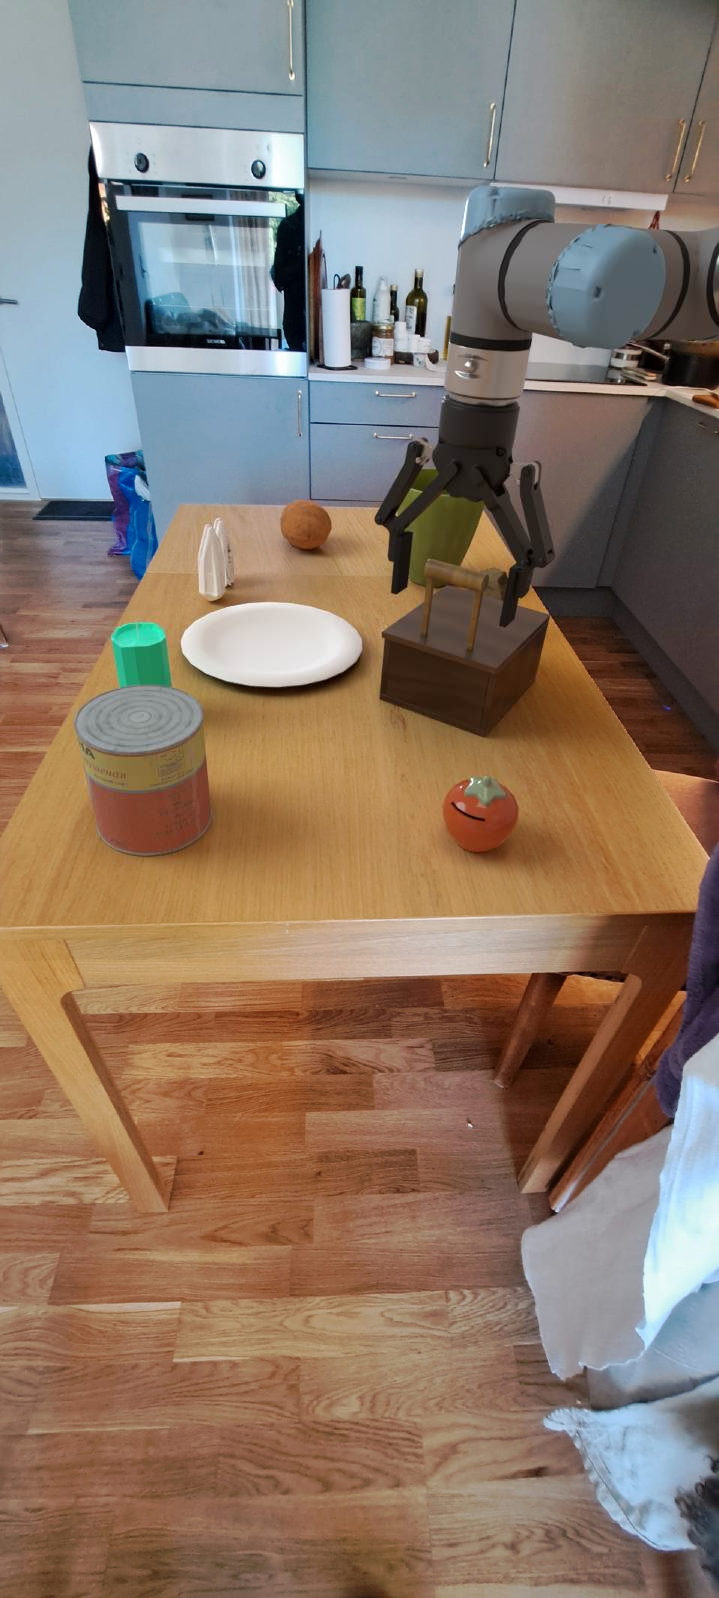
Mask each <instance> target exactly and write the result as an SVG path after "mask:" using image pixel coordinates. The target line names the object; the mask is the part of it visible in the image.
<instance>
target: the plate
mask: <svg viewBox="0 0 719 1598" xmlns="http://www.w3.org/2000/svg"><path fill="white" fill-rule="evenodd" d="M180 646H181V652H182V655H183V657H184V658H185V659H186V660H187V662H188V663H189V664H190V665H191V666H192V667H193V668H195V669H197V671H200V672H201V673H203V674H204V675H206V676H208V677H211V678H214V679H216V680H219V681H222V682H224V683H227V684H232V685H238V686H243V687H248V688H257V689H259V688H260V689H286V688H299V687H305V686H309V685H313V684H318V683H321V682H325V681H327V680H329V679H332V678H334V677H336V676H340V675H341V674H343V673H345V672H346V671H348V670H349V669H350V668H351V667H353V666H354V665H355V664H356V663H357V661H358V660H359V658H360V656H361V655H362V653H363V638H362V637H361V635H360V633H359V631H358V630H357V628H355V627H354V626H353V625H351V624H350V623H349V622H348V621H347V620H345V619H344V618H342V617H340V616H338V615H336V614H334V613H332V612H330V611H328V610H324V609H321V608H317V607H314V606H310V605H305V604H299V603H292V602H278V601H275V602H274V601H262V602H248V603H242V604H236V605H231V606H227V607H223V608H219V609H218V610H214V611H211V612H209V613H207V614H205V615H203V616H202V617H200V618H198V619H196V620H195V621H193V623H191V624H190V625H189V626H188V627H187V628H186V629H185V630H184V632H183V634H182V637H181V639H180Z"/></svg>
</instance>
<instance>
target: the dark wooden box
mask: <svg viewBox="0 0 719 1598" xmlns="http://www.w3.org/2000/svg"><path fill="white" fill-rule="evenodd" d="M549 622H550V620H549V621H548V622H547V623H546V624H545V625H544V626H543V627H542V628H541V629H540V630H539V631H538V632H537V633H536V634H535V635H534V636H533V637H532V638H531V639H530V640H529V641H528V642H527V643H526V644H525V645H524V646H523V647H522V648H521V649H520V650H519V651H518V652H517V653H516V654H515V655H514V656H513V657H512V658H511V659H510V660H509V661H508V662H507V663H506V664H505V665H504V666H503V667H502V668H501V669H500V670H499V671H498V672H497V673H496V674H492V673H488V672H485V671H482V670H479V669H476V668H473V667H470V666H467V665H464V664H461V663H458V662H455V661H452V660H449V659H446V658H443V657H440V656H437V655H433V654H430V653H427V652H424V651H421V650H418V649H415V648H412V647H409V646H406V645H403V644H400V643H397V642H394V641H391V640H388V639H385V638H383V639H384V640H383V652H382V662H381V663H382V664H381V675H380V687H379V700H382V701H384V702H385V703H389V704H392V705H394V706H397V707H400V708H403V709H406V710H408V711H412V712H414V713H415V714H416V713H417V714H419V715H422V716H425V717H428V718H430V719H433V720H436V721H438V722H441V723H444V724H446V725H450V726H452V727H455V728H458V729H460V730H463V731H466V732H469V733H471V734H474V735H477V736H479V737H483V738H486V737H487V736H488V735H489V733H491V731H492V730H493V729H494V728H495V727H496V726H497V725H498V724H499V722H500V721H501V720H502V719H503V718H504V717H505V715H506V714H508V712H509V711H510V710H511V709H512V708H513V707H514V705H515V704H516V703H517V702H518V701H520V699H521V697H522V696H523V695H524V694H525V693H526V692H527V691H528V690H529V689H530V688H531V687H532V685H533V684H534V683H535V682H536V679H537V675H538V674H537V673H538V669H539V666H540V661H541V656H542V652H543V648H544V643H545V639H546V635H547V632H548V627H549Z"/></svg>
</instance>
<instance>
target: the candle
mask: <svg viewBox="0 0 719 1598" xmlns="http://www.w3.org/2000/svg"><path fill="white" fill-rule="evenodd" d="M134 621H135V622H127V623H125V624H122V625H120V626H118V627H116V628H115V630H114V631H113V632H112V634H111V636H110V640H111V646H112V652H113V659H114V662H115V669H116V675H117V680H118V688H121V687H127V686H134V685H161V686H167V687H172V688H173V685H172V676H171V668H170V660H169V651H168V644H167V643H168V642H167V636H166V632H165V629H164V628H162V626H160V625H158V624H157V623H156V622H150V621H149V622H147V621H146V622H145V621H142V622H141V621H140V622H138V621H136V620H134Z"/></svg>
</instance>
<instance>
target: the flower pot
mask: <svg viewBox="0 0 719 1598" xmlns="http://www.w3.org/2000/svg"><path fill="white" fill-rule="evenodd" d="M398 474H399V473H397V474H396V476H395V478H396V477H397V476H398ZM438 475H439V474H438V472H437V470H436V468H435V467H422V469H421V471H420V473H419V475H418V476H417V478H416V480H415V482H414V483H413V485H412V487H411V489H410V490H409V492H408V494H407V495H406V497H405V499H404V501H403V502H402V504H401V506H400V508H399V509H398V511H397V513H396V514H397V515H396V516H397V517H398V516H399V515H400V514H401V513H402V512H403V511H404V510H405V509H406V508H407V507H408V506H409V505H410V504H411V503H412V502H413V501H414V500H415V499H416V498H417V497H418V496H419V495H420V494H421V493H422V492H423V491H424V490H425V489H426V487H427V486H428V485H429V484H430V483H431V482H432V481H433V480H434V479H435V478H436V477H437V476H438ZM484 508H485V504H484V502H483V501H479V502H477V503H476V502H471V501H469V500H467V499H465V498H463V497H462V498H455V497H450V494H449V493H448V492H447V491H445V492H443V493H442V494H441V495H440V496H439V497H438V498H437V499H436V500H435V501H434V502H433V503H432V504H431V505H430V506H429V507H428V508H427V509H426V510H425V511H424V512H422V513H421V514H420V515H419V516H418V517H417V518H416V519H415V520H414V521H413V522H412V523H411V524H410V525H409V527H408V528H406V529H405V532H406V531H411V532H413V539H412V549H411V559H410V568H409V578H408V579H410V581H412V582H413V583H415V584H418V585H420V586H424V587H426V583H427V577H426V576H425V575H424V569H425V565H426V563H427V561H428V560H429V559H434V560H437V561H441V562H445V563H448V564H452V565H456V566H459V567H461V565H462V563H463V561H464V559H465V557H466V555H467V553H468V551H469V548H470V546H471V544H472V542H473V539H474V536H475V534H476V532H477V529H478V527H479V524H480V521H481V518H482V515H483V512H484ZM446 585H448V586H449V585H451V584H450V583H446V582H442V581H439V580H435V581H434V588H439V587H440V588H441V587H445V586H446Z"/></svg>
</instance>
